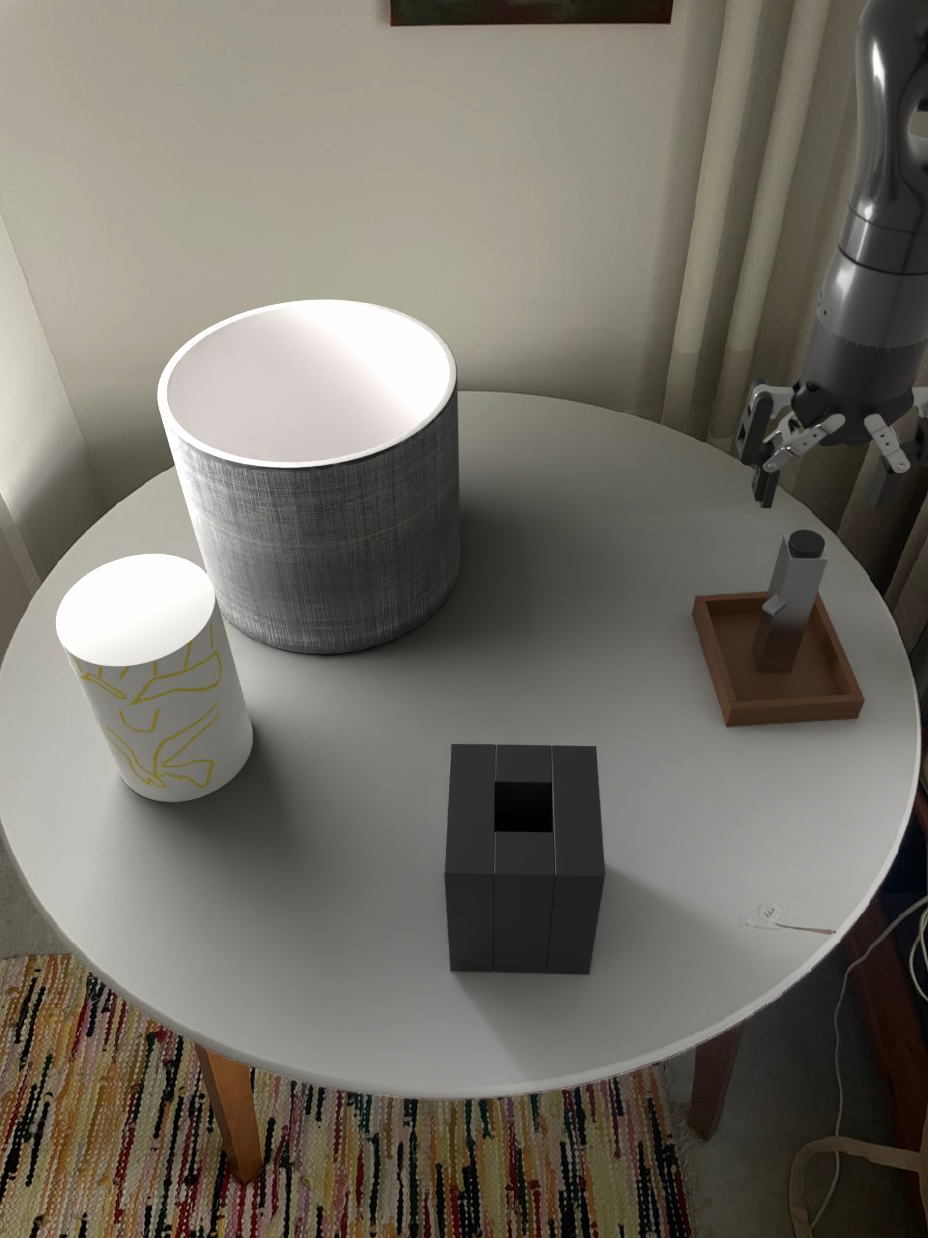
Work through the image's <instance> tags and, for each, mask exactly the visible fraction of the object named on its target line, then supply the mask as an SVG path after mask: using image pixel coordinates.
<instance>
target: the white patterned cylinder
mask: <svg viewBox="0 0 928 1238" xmlns="http://www.w3.org/2000/svg"><path fill="white" fill-rule="evenodd" d="M55 630H56V634H57V638H58V639H59V641H60V643H61V647H62V648H63V651H64V653H65V654H66V657H67V659H68V661H69V664H70V666H71V669H72V670H73V672H74V674H75V678H76V679H77V681H78V684H79V686H80V688H81V690H82V692H83V694H84V697H85V699H86V702H87V703H88V706H89V708H90V710H91V713H92V715H93V717H94V719H95V721H96V725H97V726H98V728H99V730H100V733H101V734H102V735H101V736H102V737H103V739H104V741H105V743H106V747H107V748H108V750H109V753H110V755H111V757H112V759H113V762H114V763H115V765H116V768H117V770H118V772H119V774H120V777H121V778H122V780H123V781H124V783H125V784H126V785H127V786H128V788H130V789H131V790H132V791H134V792H135V793H137V794H138V795H140V796H142V797H144V798H146V799H150V800H153V801H156V802H164V803H180V802H187V801H192V800H195V799H199V798H202V797H204V796H207V795H210V794H211V793H214V792H215V791H217V790H219V789H221V788H222V787H224V786H225V785H226V784H228V783H229V782H230V781H231V780H232V779H234V778H235V777H236V776H237V774H239V772H240V771H241V770H242V769H243V767H244V766H245V764H246V762H247V761H248V759H249V756H250V754H251V752H252V749H253V743H254V731H253V725H252V721H251V718H250V715H249V711H248V708H247V703H246V701H245V695H244V692H243V689H242V685H241V682H240V678H239V674H238V671H237V668H236V663H235V660H234V656H233V652H232V649H231V645H230V641H229V638H228V634H227V630H226V627H225V624H224V619H223V616H222V612H221V611H220V608H219V605H218V601H217V597H216V594H215V590H214V586H213V584H212V581H211V580H210V578H209V576H208V575H207V572H206V571H204V569H202V568H201V567H200V566H199V565H197V564H195V563H194V562H192V561H190V560H189V559H186V558H182V557H179V556H177V555H170V554H163V553H143V554H135V555H130V556H125V557H122V558H118V559H116V560H112V561H110V562H108V563H105V564H103V565H101V566H99V567H97V568H95V569H93V570H92V571H90V572H89V573H87V574H86V575H84V576H83V577H82V578H80V579H79V580H78V581H77V582H76V583H74V585H73V586H72V587H71V588H70V589H69V590H68V591H67V592H66V594H65V595H64V597H63V598H62V599H61V602H60V604H59V606H58V608H57V612H56V616H55Z"/></svg>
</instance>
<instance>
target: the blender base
mask: <svg viewBox="0 0 928 1238" xmlns="http://www.w3.org/2000/svg"><path fill="white" fill-rule="evenodd" d="M597 749H598V748H597V746H596V745H573V744H572V745H570V744H569V745H568V744H567V745H565V744H560V745H559V744H552V745H551V744H503V743H502V744H501V743H500V744H499V743H498V744H497V743H496V744H495V743H450V748H449V750H450V751H449V770H448V789H447V807H446V808H447V809H446V825H445V827H446V828H445V845H444V846H445V847H444V866H443V868H444V869H443V870H444V871H443V879H444V892H445V893H444V894H445V909H446V921H447V922H446V923H447V924H446V925H447V940H448V955H449V970H450V972H452V973H490V974H491V973H500V974H501V973H502V974H503V973H506V974H548V975H582V976H583V975H586V976H587V975H588V976H589V975H590V974H591V968H592V962H593V955H594V949H595V943H596V936H597V931H598V926H599V925H598V924H599V917H600V911H601V906H602V900H603V899H602V898H603V893H604V887H605V881H606V865H605V864H606V863H605V852H604V851H605V849H604V838H603V837H604V836H603V823H602V822H603V821H602V808H601V793H600V779H599V765H598V750H597Z"/></svg>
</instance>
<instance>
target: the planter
mask: <svg viewBox="0 0 928 1238" xmlns="http://www.w3.org/2000/svg"><path fill="white" fill-rule="evenodd" d="M457 367H458V365H457V361H456V358H455V356H454V353H453V351H452V349H451V347H450V346H449V344H448V343H447V342H446V340H445V339H444V338H443V337H442V336H441V335H440V334H439V333H438V332H437V331H436V330H435V329H433V328H432V327H431V326H429V325H428V324H426V323H425V322H423V321H422V320H420V319H418V318H416V317H414V316H412V315H409V314H407V313H405V312H402V311H400V310H397V309H394V308H390V307H387V306H384V305H380V304H375V303H369V302H364V301H363V302H362V301H356V300H346V299H306V300H305V299H304V300H296V301H289V302H283V303H277V304H272V305H271V304H270V305H266V306H263V307H258V308H255V309H251V310H248V311H245V312H242V313H239V314H236V315H233V316H231V317H229V318H227V319H225V320H222V321H219V322H218V323H216V324H214V325H211V326H210V327H208V328H206V329H205V330H203V331H201V332H200V333H198V334H197V335H195V336H194V337H193V338H191V339H190V340H189V341H187V342H186V343H185V344H184V345H183V346H182V347H181V348H180V349H179V350H178V351H177V352H175V354H174V355H173V356H172V358H171V359H170V360H169V362H168V363H167V364H166V366H165V368H164V370H163V371H162V373H161V377H160V379H159V382H158V386H157V404H158V409H159V412H160V416H161V419H162V424H163V427H164V430H165V434H166V437H167V441H168V444H169V448H170V451H171V455H172V458H173V461H174V465H175V469H176V472H177V476H178V479H179V484H180V486H181V490H182V493H183V497H184V499H185V503H186V507H187V510H188V514H189V517H190V522H191V525H192V527H193V531H194V535H195V538H196V542H197V544H198V547H199V552H200V554H201V557H202V560H203V563H204V564H203V565H204V567H205V573H206V574H207V575H208V576H209V578H210V580H211V581H212V584H213V586H214V590H215V594H216V597H217V601H218V605H219V608H220V612H221V614H222V615H223V616H224V618H226V619H227V621H229V623H230V624H232V625H233V626H234V627H235V628H237V629H238V630H239V631H241V632H242V633H243V634H244V635H247V636H248V637H250V638H252V639H254V640H256V641H257V642H260V643H263V644H264V645H268V646H271V647H274V648H276V649H281V650H284V651H290V652H295V653H303V654H315V655H321V654H322V655H324V654H325V655H329V654H343V653H351V652H355V651H356V652H357V651H361V650H365V649H369V648H372V647H373V648H374V647H376V646H379V645H383V644H385V643H388V642H391V641H393V640H396V639H398V638H400V637H401V636H403V635H405V634H407V633H409V632H410V631H413V630H414V629H415V628H417V627H419V626H420V625H421V624H423V623H424V622H426V621H427V620H428V619H429V618H430V617H432V616H433V615H434V614H435V613H436V612H437V611H438V610H439V609H440V608H441V607H442V605H443V604H444V603H445V602H446V600H447V599H448V598H449V596H450V594H451V593H452V592H453V589H454V587H455V585H456V583H457V580H458V578H459V573H460V569H461V560H462V558H461V556H462V555H461V554H462V553H461V552H462V551H461V536H460V535H461V534H460V532H461V531H460V448H459V446H460V445H459V444H460V443H459V395H458V393H459V390H458V385H459V383H458V368H457Z"/></svg>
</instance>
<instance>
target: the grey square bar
mask: <svg viewBox="0 0 928 1238" xmlns="http://www.w3.org/2000/svg"><path fill="white" fill-rule="evenodd" d="M828 561H829V557H828V553H827V551H826V541H825V538H824V536H822V535H821V533H818V532H817V531H814V530H811V529H797V530H795V531H793V532H792V533H783V535H782V539H781V542H780V546H779V550H778V552H777V557H776V561H775V564H774V568H773V571H772V574H771V578H770V582H769V585H768V589H767V591H768V592H767V596H766V600H765V603H764V605H763V606H762V614H761V618H760V621H759V625H758V628H757V632H756V636H755V639H754V643H753V646H752V649H753V654H754V659H755V663H756V668H757V672H769V673H791V671H792V668H793V665H794V662H795V659H796V656H797V653H798V650H799V647H800V644H801V641H802V637H803V634H804V631H805V628H806V625H807V622H808V619H809V616H810V613H811V610H812V607H813V604H814V601H815V598H816V595H817V592H818V591H819V588H820V586H821V582H822V579H823V576H824V574H825V570H826V567H827V564H828Z"/></svg>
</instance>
